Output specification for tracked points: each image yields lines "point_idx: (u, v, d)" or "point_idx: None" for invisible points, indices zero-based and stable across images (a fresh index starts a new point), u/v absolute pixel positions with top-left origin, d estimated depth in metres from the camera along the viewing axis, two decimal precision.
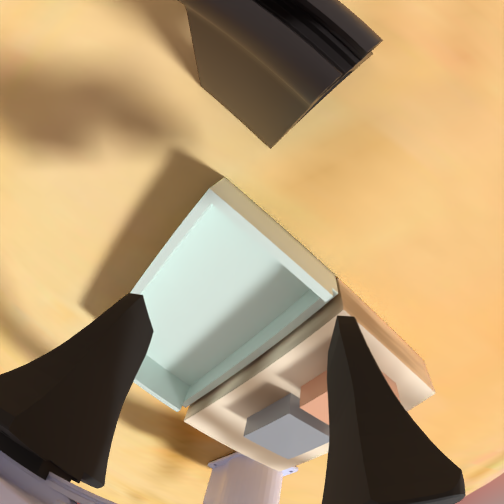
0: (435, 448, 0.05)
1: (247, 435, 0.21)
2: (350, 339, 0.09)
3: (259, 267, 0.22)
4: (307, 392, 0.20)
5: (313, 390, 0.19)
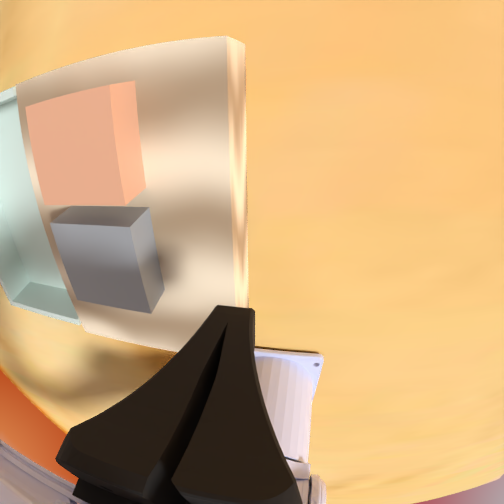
0: (275, 451, 0.05)
1: (75, 294, 0.16)
2: (235, 329, 0.09)
3: (19, 130, 0.17)
4: None
5: None
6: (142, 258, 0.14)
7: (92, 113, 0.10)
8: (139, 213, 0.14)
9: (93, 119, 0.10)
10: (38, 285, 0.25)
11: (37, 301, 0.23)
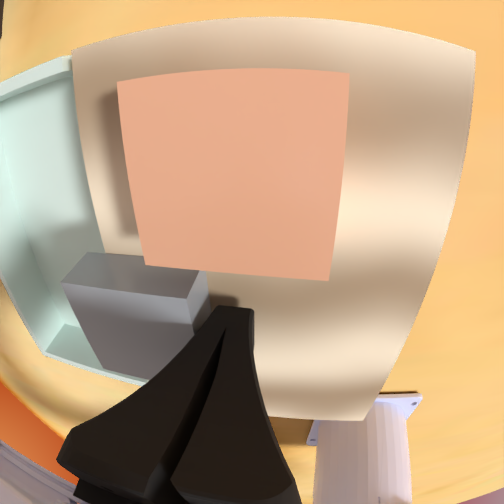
0: (275, 451, 0.05)
1: (101, 363, 0.12)
2: (234, 329, 0.09)
3: (56, 128, 0.12)
4: None
5: None
6: None
7: (300, 117, 0.06)
8: (194, 273, 0.10)
9: (301, 129, 0.06)
10: (77, 330, 0.20)
11: (81, 354, 0.19)
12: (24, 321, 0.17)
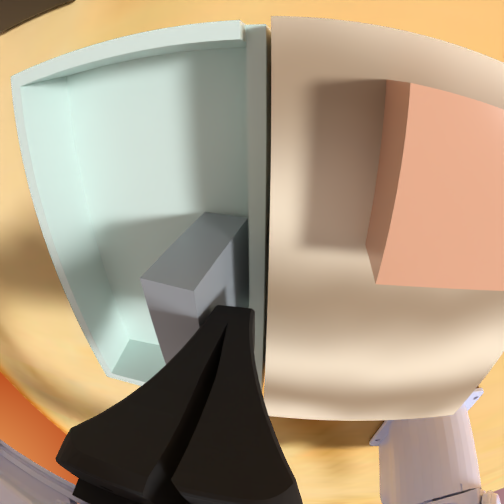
0: (275, 451, 0.05)
1: None
2: (235, 329, 0.09)
3: (166, 112, 0.11)
4: (374, 241, 0.08)
5: (379, 226, 0.08)
6: (162, 322, 0.11)
7: None
8: (174, 283, 0.10)
9: None
10: (148, 346, 0.20)
11: None
12: (90, 341, 0.16)
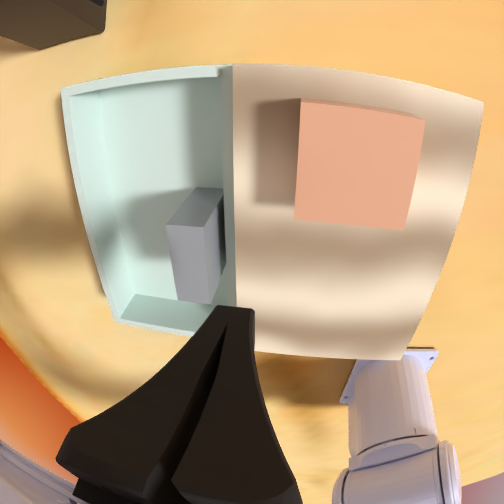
0: (276, 451, 0.05)
1: None
2: (235, 329, 0.09)
3: (170, 118, 0.17)
4: None
5: None
6: (178, 257, 0.16)
7: (400, 140, 0.11)
8: (189, 224, 0.15)
9: (400, 146, 0.11)
10: (150, 298, 0.25)
11: (159, 317, 0.23)
12: (105, 288, 0.21)
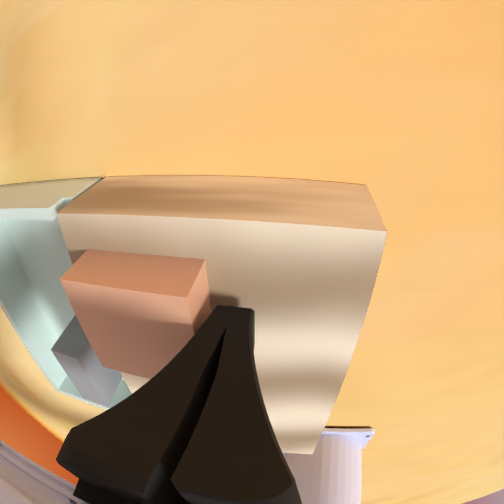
0: (275, 451, 0.05)
1: None
2: (234, 329, 0.09)
3: (54, 231, 0.16)
4: None
5: None
6: (69, 372, 0.15)
7: (164, 318, 0.10)
8: (67, 353, 0.14)
9: (165, 324, 0.10)
10: None
11: None
12: (41, 367, 0.20)
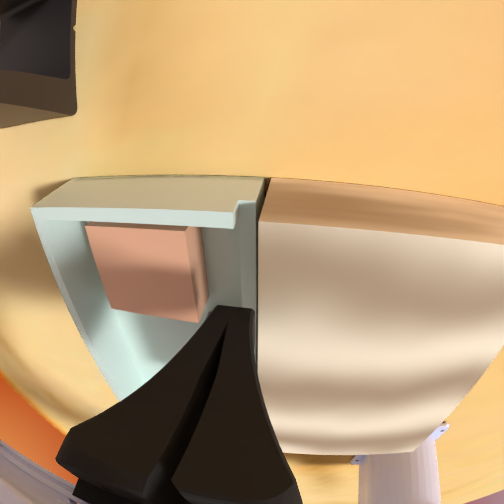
0: (276, 451, 0.05)
1: None
2: (235, 329, 0.09)
3: None
4: (202, 298, 0.15)
5: (202, 287, 0.15)
6: None
7: None
8: None
9: None
10: None
11: None
12: (117, 395, 0.19)
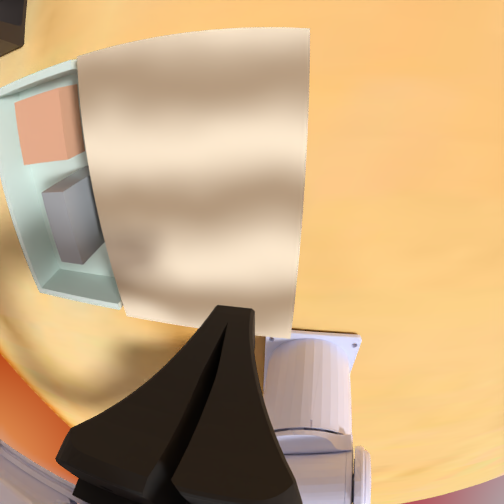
0: (276, 451, 0.05)
1: None
2: (235, 329, 0.09)
3: None
4: (75, 145, 0.18)
5: (75, 137, 0.18)
6: (53, 220, 0.17)
7: None
8: (55, 191, 0.16)
9: None
10: (69, 272, 0.25)
11: (70, 287, 0.24)
12: (27, 259, 0.22)
